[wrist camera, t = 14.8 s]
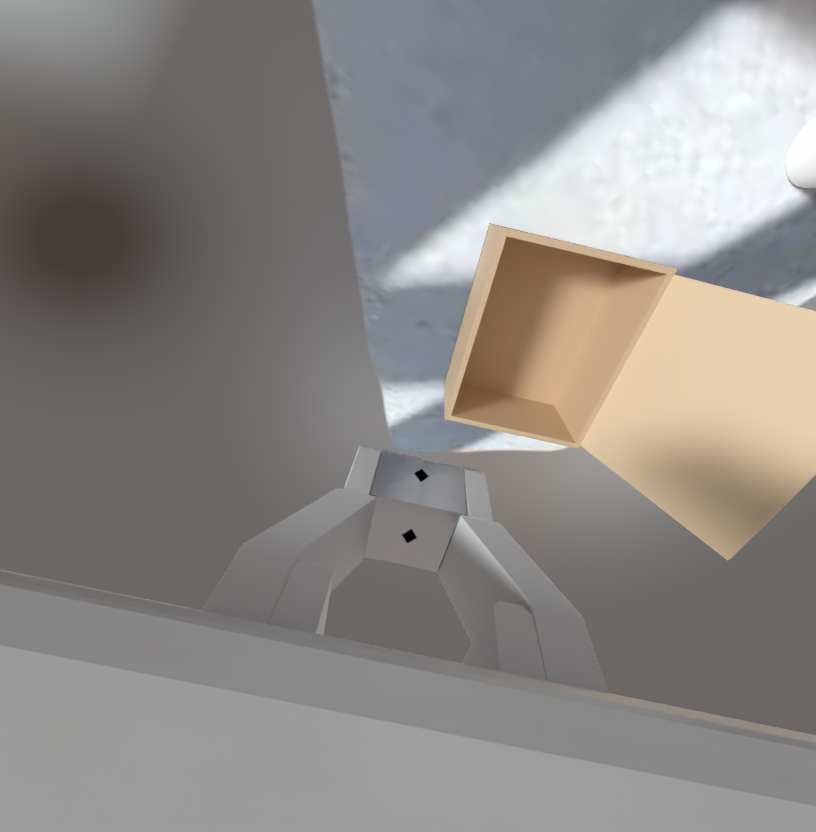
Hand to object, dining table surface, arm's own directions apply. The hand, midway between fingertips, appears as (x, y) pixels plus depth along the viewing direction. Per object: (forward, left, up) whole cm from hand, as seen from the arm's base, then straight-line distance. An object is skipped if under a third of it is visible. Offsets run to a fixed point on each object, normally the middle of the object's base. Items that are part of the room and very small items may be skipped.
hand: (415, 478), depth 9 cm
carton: (+10, +9, -39) cm, 41 cm away
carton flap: (+16, +20, -22) cm, 33 cm away
